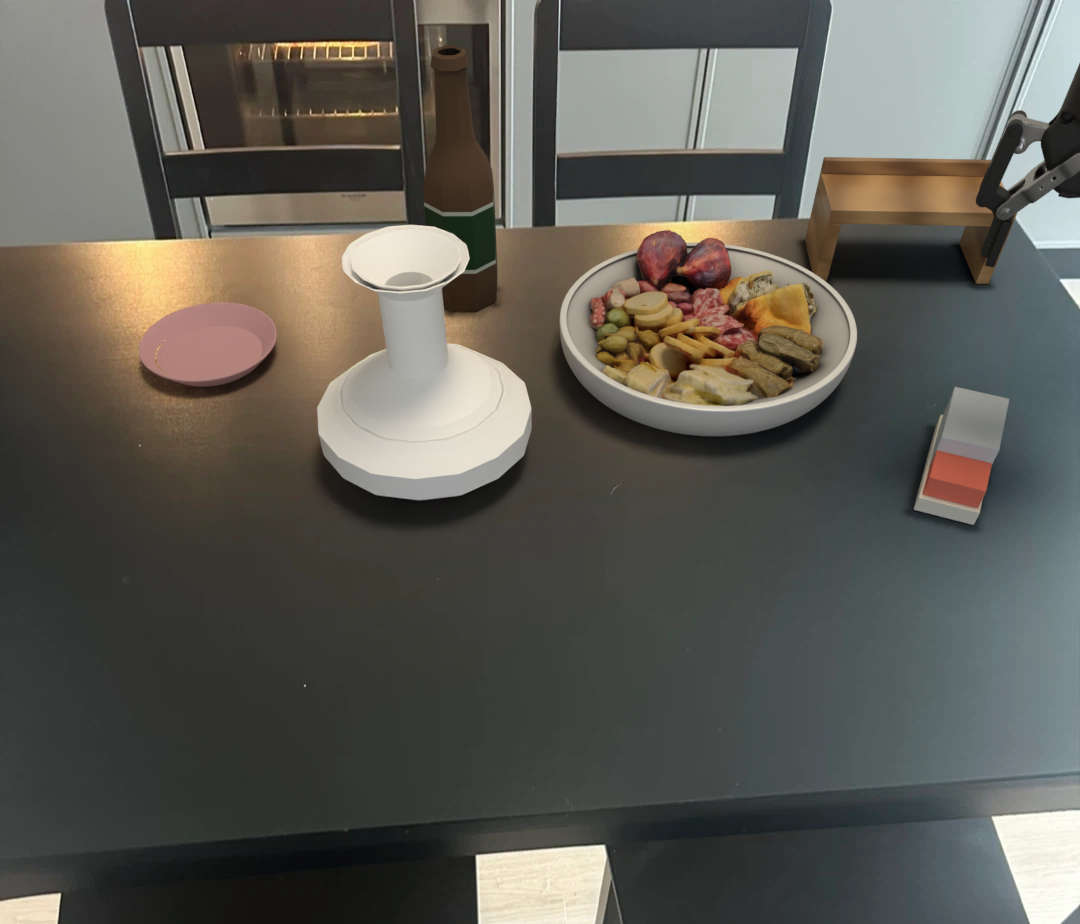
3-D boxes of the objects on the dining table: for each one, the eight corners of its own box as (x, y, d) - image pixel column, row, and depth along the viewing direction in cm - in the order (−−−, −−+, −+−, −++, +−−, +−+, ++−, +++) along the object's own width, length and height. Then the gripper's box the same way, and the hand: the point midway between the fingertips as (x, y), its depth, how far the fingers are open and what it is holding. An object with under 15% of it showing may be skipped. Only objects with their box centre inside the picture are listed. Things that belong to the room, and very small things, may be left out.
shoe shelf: (971, 243, 113) (1003, 159, 105) (988, 284, 107) (1023, 198, 100) (804, 240, 113) (823, 156, 105) (813, 280, 108) (834, 195, 100)
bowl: (900, 414, 94) (927, 342, 87) (625, 483, 88) (631, 412, 81) (760, 264, 110) (773, 195, 103) (520, 315, 104) (518, 245, 98)
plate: (298, 374, 98) (293, 357, 96) (162, 412, 94) (155, 395, 93) (259, 306, 105) (255, 289, 104) (132, 339, 102) (125, 322, 100)
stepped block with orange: (935, 427, 92) (953, 382, 88) (991, 440, 91) (1012, 396, 87) (913, 509, 85) (931, 466, 81) (973, 525, 84) (995, 481, 80)
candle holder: (357, 548, 83) (313, 353, 67) (304, 418, 94) (255, 223, 78) (564, 491, 87) (569, 295, 71) (490, 372, 98) (480, 179, 82)
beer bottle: (420, 305, 105) (392, 59, 86) (450, 271, 109) (430, 29, 90) (483, 319, 104) (468, 72, 84) (511, 284, 108) (503, 41, 88)
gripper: (1269, 33, 62) (1141, 269, 75) (1047, 1, 65) (961, 233, 79) (1272, 76, 58) (1136, 317, 71) (1036, 39, 61) (947, 277, 75)
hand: (1044, 273), depth 75 cm, fingers open, 8 cm apart
